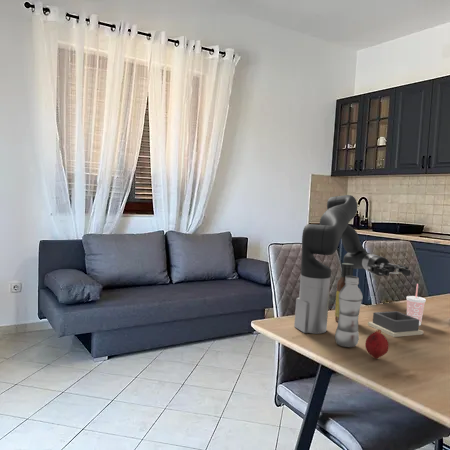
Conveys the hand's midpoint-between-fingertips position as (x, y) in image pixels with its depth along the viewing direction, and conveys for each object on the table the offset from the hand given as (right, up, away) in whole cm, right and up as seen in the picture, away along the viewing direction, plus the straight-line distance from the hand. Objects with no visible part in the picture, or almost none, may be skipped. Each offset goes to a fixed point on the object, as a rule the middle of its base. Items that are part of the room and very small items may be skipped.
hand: (398, 273), depth 161 cm
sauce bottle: (-24, -15, -12) cm, 31 cm away
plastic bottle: (-29, -17, -36) cm, 49 cm away
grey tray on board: (-8, -16, -18) cm, 26 cm away
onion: (-24, -18, -44) cm, 53 cm away
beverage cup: (+1, -17, -10) cm, 19 cm away
